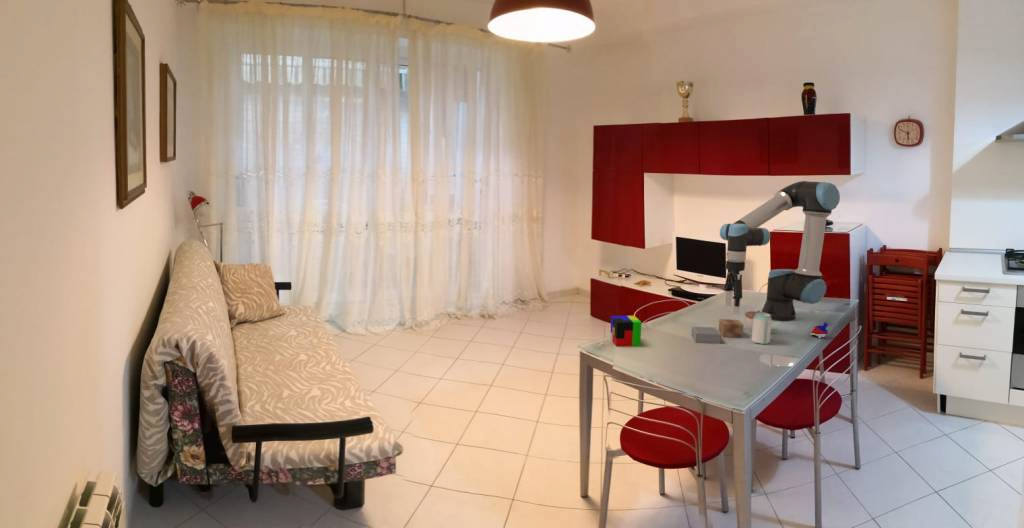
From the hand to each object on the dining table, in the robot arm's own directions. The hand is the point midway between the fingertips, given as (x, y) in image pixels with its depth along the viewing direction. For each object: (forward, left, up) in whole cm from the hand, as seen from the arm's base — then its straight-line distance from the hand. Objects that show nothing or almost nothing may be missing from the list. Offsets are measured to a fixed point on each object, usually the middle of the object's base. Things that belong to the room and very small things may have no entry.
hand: (731, 309), depth 266 cm
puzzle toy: (+46, +16, -12) cm, 50 cm away
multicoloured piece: (-37, -1, -12) cm, 39 cm away
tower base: (+12, +8, -11) cm, 18 cm away
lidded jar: (-13, -7, -12) cm, 19 cm away
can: (-10, +9, -12) cm, 18 cm away
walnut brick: (0, 0, -11) cm, 11 cm away
